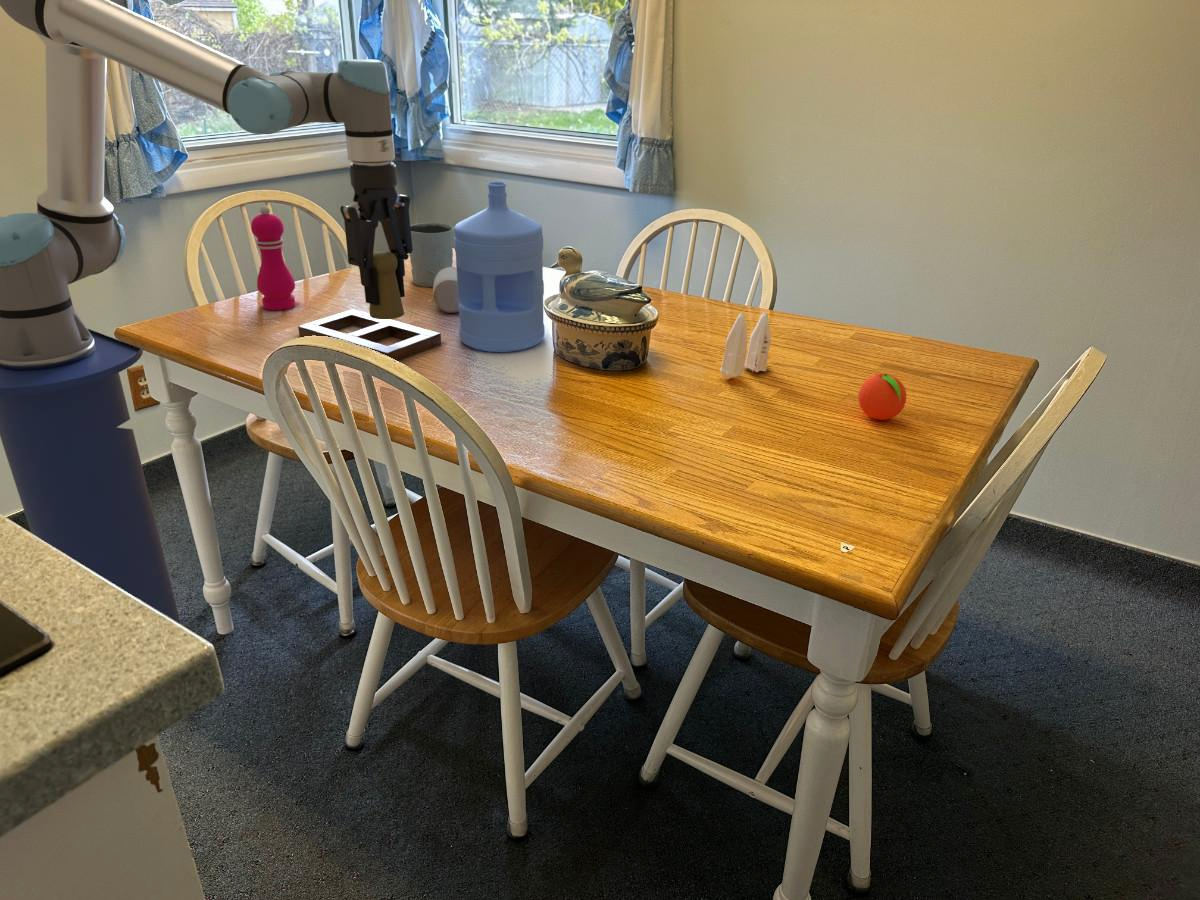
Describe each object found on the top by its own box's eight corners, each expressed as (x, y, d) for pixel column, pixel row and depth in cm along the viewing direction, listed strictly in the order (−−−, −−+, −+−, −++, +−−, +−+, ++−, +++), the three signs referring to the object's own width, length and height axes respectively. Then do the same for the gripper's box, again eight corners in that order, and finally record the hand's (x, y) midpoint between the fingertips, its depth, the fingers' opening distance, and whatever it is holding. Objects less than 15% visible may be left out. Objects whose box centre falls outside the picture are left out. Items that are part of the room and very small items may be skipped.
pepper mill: (302, 307, 178) (288, 207, 169) (266, 313, 174) (250, 211, 165) (291, 298, 183) (277, 200, 174) (256, 304, 179) (240, 204, 170)
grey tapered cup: (412, 275, 200) (408, 222, 195) (457, 275, 201) (454, 222, 196) (408, 288, 191) (404, 233, 186) (455, 287, 192) (452, 232, 187)
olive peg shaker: (374, 308, 159) (368, 247, 154) (407, 309, 159) (402, 248, 154) (365, 319, 153) (358, 256, 148) (399, 320, 153) (394, 257, 148)
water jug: (475, 322, 171) (468, 173, 158) (553, 329, 168) (552, 178, 156) (447, 349, 157) (436, 189, 145) (531, 357, 155) (528, 194, 142)
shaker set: (731, 387, 144) (737, 322, 139) (711, 380, 146) (716, 316, 141) (774, 369, 151) (781, 307, 146) (754, 362, 154) (760, 301, 149)
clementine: (915, 427, 131) (924, 383, 127) (874, 432, 129) (882, 388, 126) (885, 406, 138) (893, 364, 134) (846, 411, 136) (853, 368, 133)
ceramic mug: (433, 315, 174) (431, 277, 171) (435, 302, 182) (433, 266, 178) (486, 315, 176) (486, 277, 172) (486, 302, 183) (485, 266, 180)
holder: (388, 364, 151) (387, 353, 150) (299, 336, 162) (297, 326, 161) (441, 343, 160) (440, 333, 159) (353, 318, 172) (352, 309, 171)
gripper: (344, 171, 136) (360, 316, 146) (428, 158, 149) (437, 291, 160) (312, 166, 139) (330, 307, 150) (397, 153, 153) (408, 284, 163)
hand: (385, 299), depth 155 cm, fingers closed on olive peg shaker, 5 cm apart
